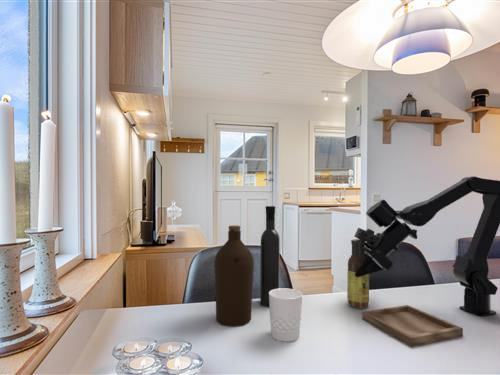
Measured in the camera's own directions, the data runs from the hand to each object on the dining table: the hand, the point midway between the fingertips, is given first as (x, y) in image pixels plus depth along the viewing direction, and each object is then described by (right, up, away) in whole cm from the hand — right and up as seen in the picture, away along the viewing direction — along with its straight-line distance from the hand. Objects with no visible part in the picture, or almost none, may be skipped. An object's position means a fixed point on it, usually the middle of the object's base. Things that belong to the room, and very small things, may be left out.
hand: (353, 273), depth 93 cm
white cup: (-23, -9, -21) cm, 33 cm away
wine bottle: (-26, -10, +1) cm, 27 cm away
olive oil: (-36, -9, -12) cm, 39 cm away
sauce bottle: (+1, -10, -1) cm, 10 cm away
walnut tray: (+9, -9, -16) cm, 20 cm away
